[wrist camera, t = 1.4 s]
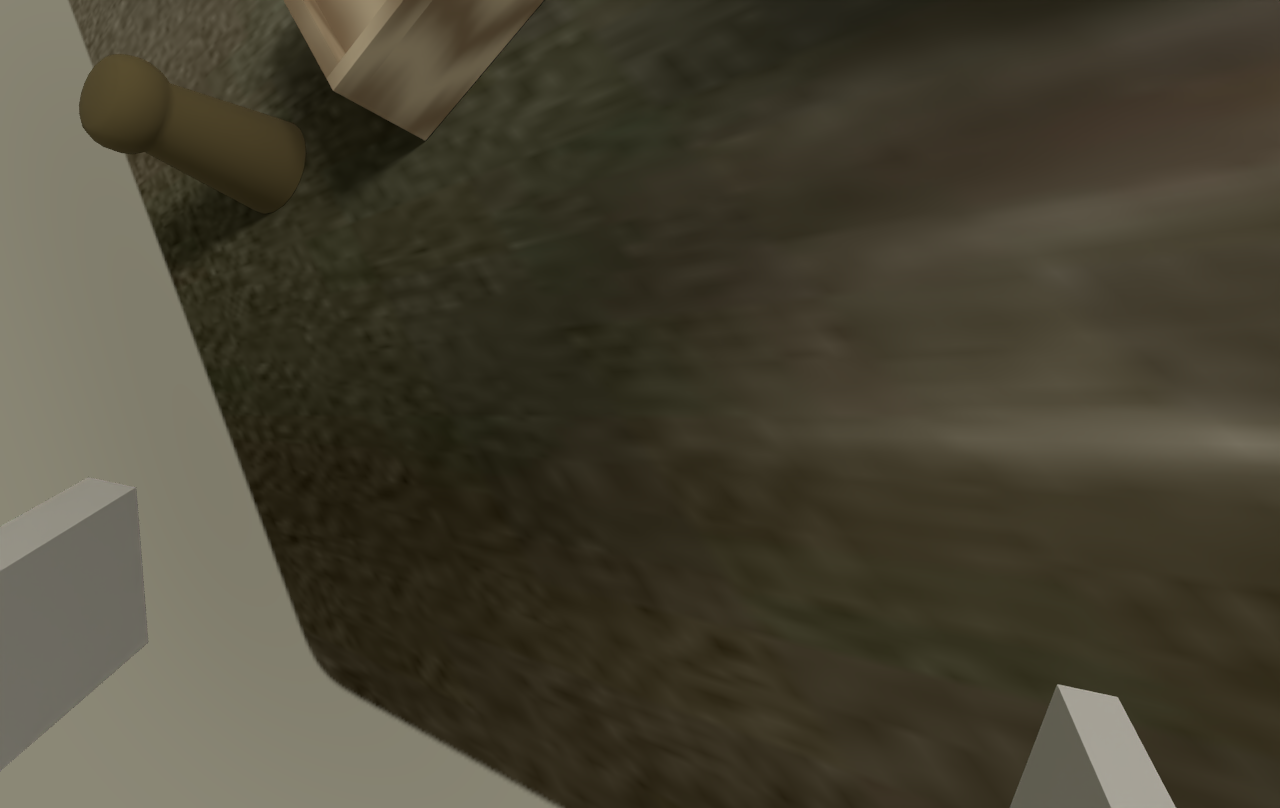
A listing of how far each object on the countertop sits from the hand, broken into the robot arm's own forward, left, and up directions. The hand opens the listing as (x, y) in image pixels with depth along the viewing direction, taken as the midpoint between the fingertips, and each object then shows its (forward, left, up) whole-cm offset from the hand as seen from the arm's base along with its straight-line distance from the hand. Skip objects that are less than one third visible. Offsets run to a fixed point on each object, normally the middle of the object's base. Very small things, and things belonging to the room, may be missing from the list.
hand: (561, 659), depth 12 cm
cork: (+18, -44, -22) cm, 52 cm away
